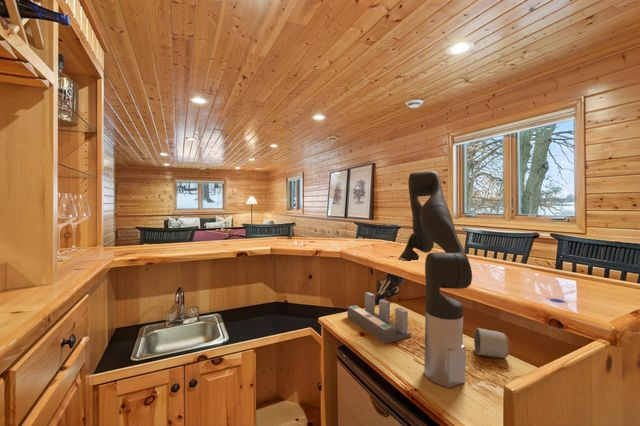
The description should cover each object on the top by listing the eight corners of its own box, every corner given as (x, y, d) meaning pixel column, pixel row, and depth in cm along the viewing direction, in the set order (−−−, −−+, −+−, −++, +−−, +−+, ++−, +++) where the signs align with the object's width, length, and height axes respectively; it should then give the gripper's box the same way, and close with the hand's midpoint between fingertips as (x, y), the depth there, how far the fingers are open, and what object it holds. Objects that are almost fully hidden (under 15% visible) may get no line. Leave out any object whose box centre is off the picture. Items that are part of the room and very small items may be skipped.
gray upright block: (389, 322, 110) (390, 302, 109) (385, 323, 109) (385, 303, 108) (383, 318, 113) (383, 299, 113) (378, 319, 112) (379, 299, 112)
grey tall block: (407, 332, 101) (407, 311, 101) (402, 333, 100) (403, 312, 100) (399, 328, 105) (399, 307, 104) (395, 329, 104) (395, 308, 103)
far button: (374, 313, 118) (374, 295, 118) (370, 314, 117) (370, 295, 117) (368, 309, 122) (369, 292, 121) (364, 310, 121) (365, 292, 121)
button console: (410, 337, 101) (410, 323, 101) (384, 343, 96) (384, 329, 96) (370, 312, 123) (370, 301, 122) (347, 317, 118) (347, 305, 118)
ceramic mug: (510, 363, 85) (511, 337, 85) (479, 359, 87) (480, 334, 87) (497, 346, 95) (498, 323, 95) (470, 343, 97) (470, 320, 97)
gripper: (385, 262, 130) (361, 293, 125) (405, 268, 118) (380, 302, 113) (394, 272, 132) (371, 303, 128) (415, 280, 120) (391, 314, 116)
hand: (375, 303), depth 120 cm, fingers closed
